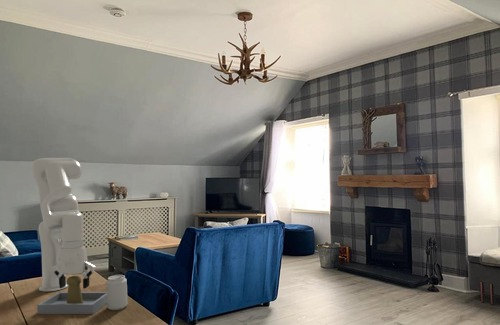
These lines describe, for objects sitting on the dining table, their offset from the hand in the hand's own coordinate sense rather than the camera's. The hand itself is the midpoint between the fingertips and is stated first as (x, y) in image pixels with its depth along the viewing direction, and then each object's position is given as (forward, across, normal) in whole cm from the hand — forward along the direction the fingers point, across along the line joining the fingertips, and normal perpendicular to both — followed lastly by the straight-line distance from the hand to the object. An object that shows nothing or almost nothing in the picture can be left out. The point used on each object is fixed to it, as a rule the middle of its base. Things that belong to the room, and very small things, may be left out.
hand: (74, 287), depth 150 cm
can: (+7, +18, -1) cm, 20 cm away
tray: (+8, +1, -1) cm, 8 cm away
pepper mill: (+7, 0, -1) cm, 7 cm away
